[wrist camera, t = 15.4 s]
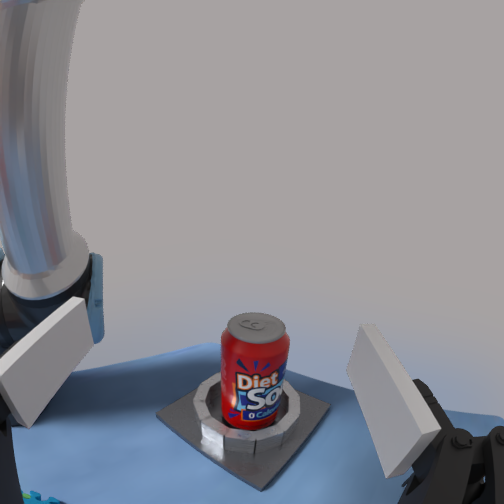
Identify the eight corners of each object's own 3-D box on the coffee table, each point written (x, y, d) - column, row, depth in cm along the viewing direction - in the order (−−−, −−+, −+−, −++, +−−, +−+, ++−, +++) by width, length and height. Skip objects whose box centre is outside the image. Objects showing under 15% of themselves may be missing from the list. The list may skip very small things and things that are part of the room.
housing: (156, 417, 32) (152, 398, 31) (236, 366, 46) (237, 348, 45) (260, 491, 22) (264, 478, 21) (329, 408, 36) (335, 390, 35)
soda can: (236, 389, 39) (239, 304, 35) (284, 404, 36) (299, 317, 32) (210, 421, 32) (207, 331, 28) (265, 441, 29) (279, 352, 25)
